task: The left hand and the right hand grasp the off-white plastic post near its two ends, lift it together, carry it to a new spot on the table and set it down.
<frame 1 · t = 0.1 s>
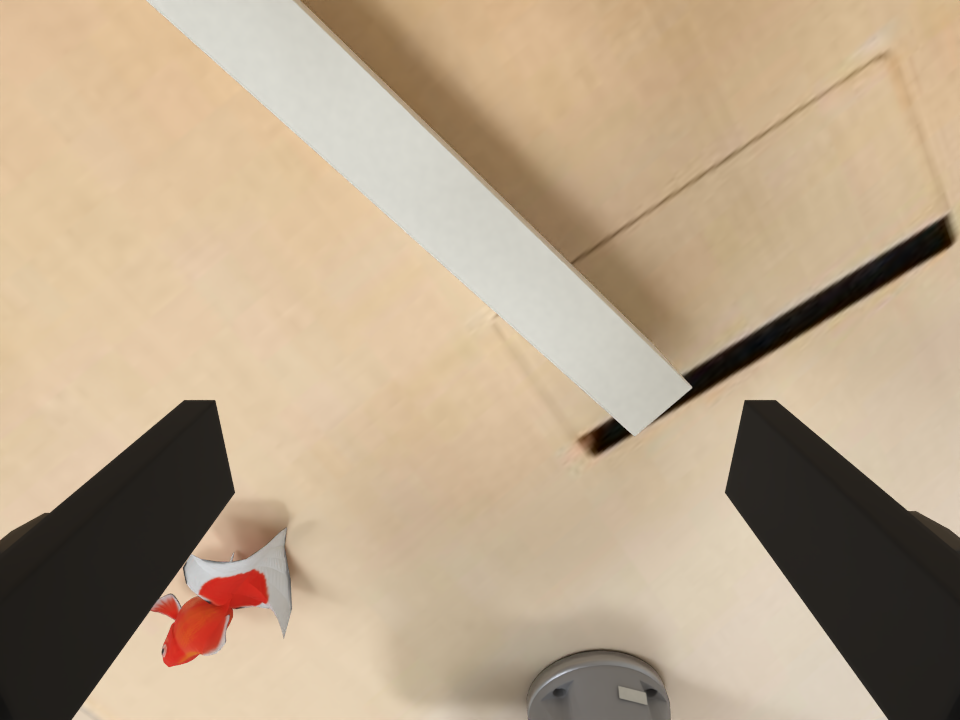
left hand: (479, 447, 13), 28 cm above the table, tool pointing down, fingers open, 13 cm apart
post: (341, 93, 35), on the table
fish: (243, 561, 50), on the table
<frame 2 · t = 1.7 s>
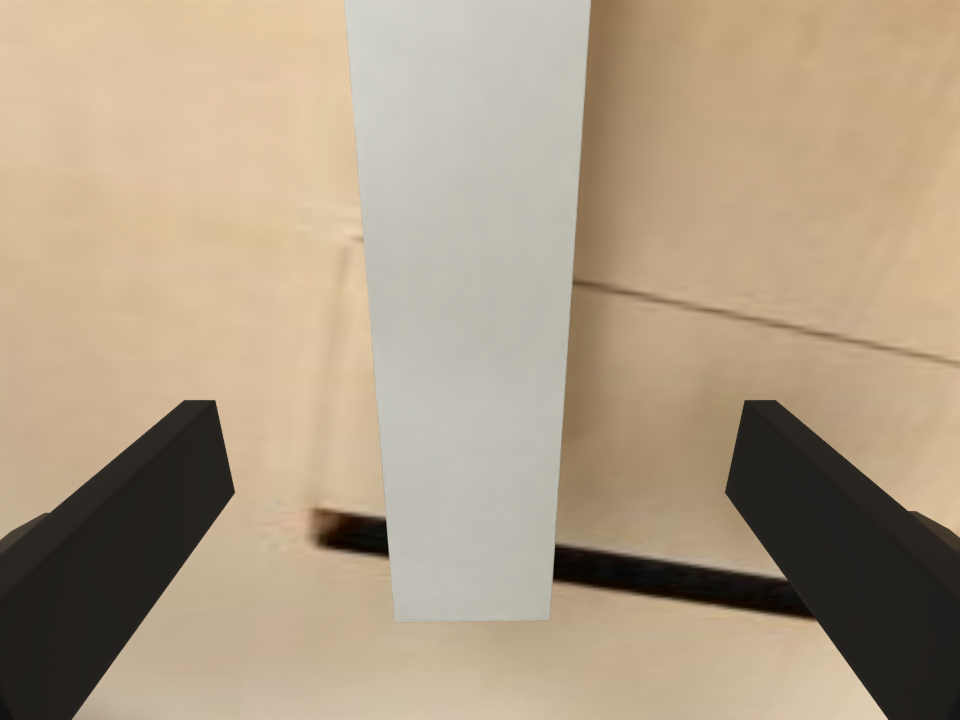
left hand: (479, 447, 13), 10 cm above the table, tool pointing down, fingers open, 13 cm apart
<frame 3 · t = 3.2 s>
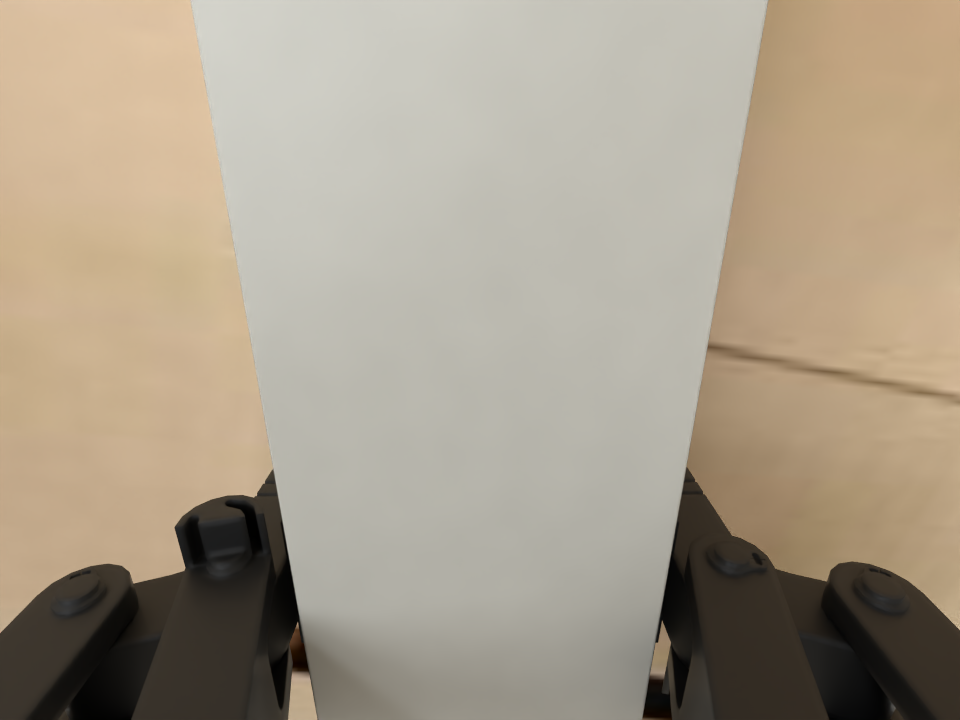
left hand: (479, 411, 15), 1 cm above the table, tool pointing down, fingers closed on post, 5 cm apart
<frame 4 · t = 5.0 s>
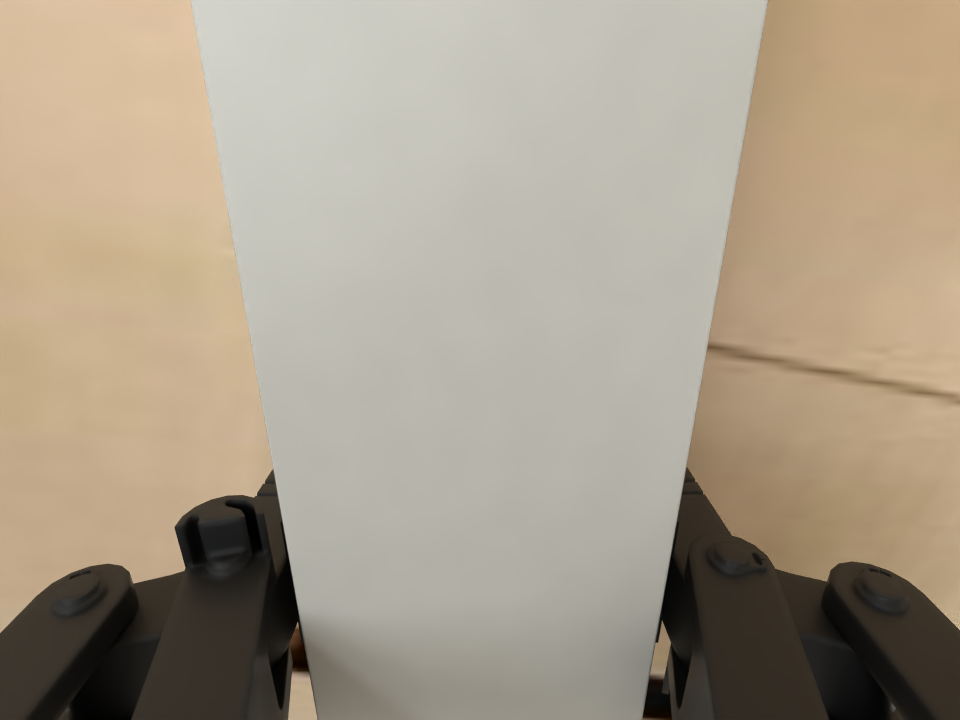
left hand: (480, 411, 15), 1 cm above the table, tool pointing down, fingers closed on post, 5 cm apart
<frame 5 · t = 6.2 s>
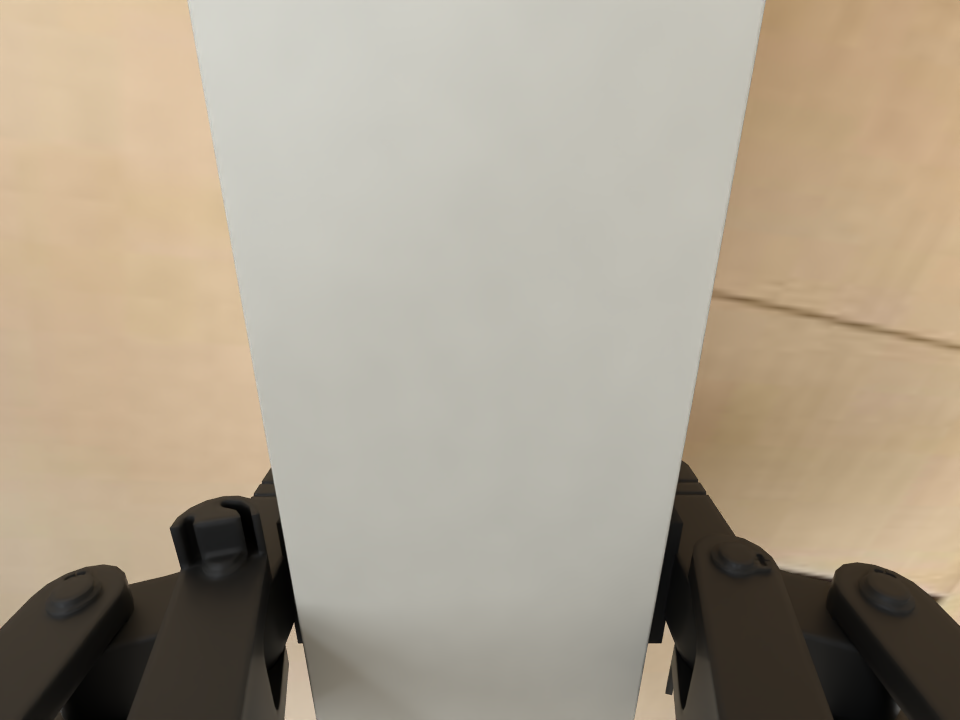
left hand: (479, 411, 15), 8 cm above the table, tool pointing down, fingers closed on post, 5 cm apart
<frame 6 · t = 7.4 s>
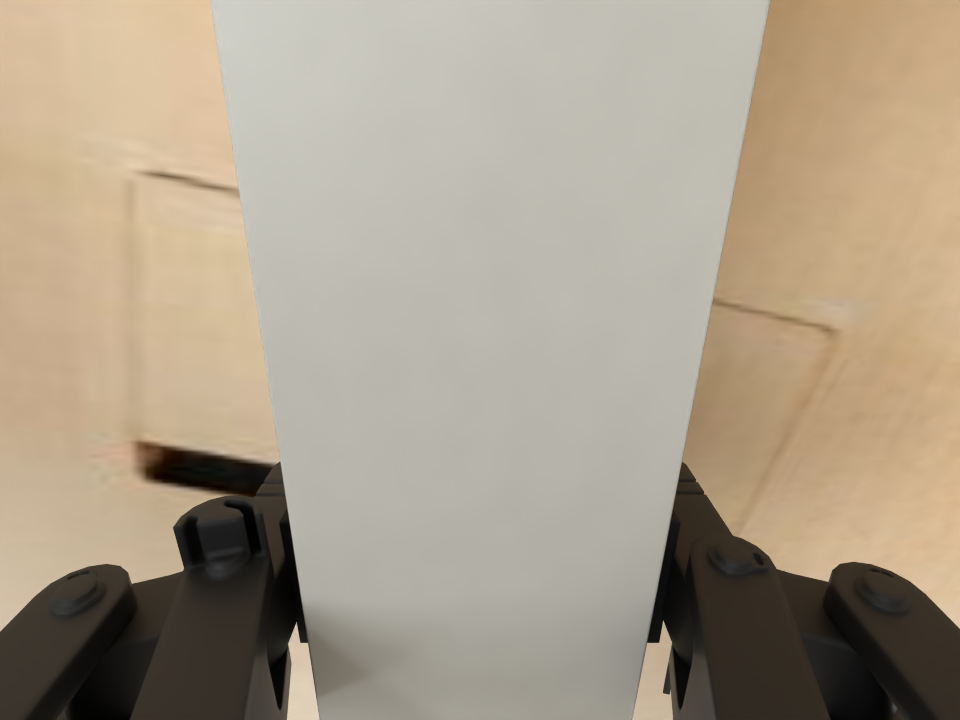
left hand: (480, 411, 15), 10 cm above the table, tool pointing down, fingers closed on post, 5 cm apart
when the left hand's fingers open (2 cm above the table, at t = 9.6 s): post drops 1 cm, on the table.
when the right hand's fingers open (5 cm above the table, at t = 9.8 s): post stays where it is, on the table.
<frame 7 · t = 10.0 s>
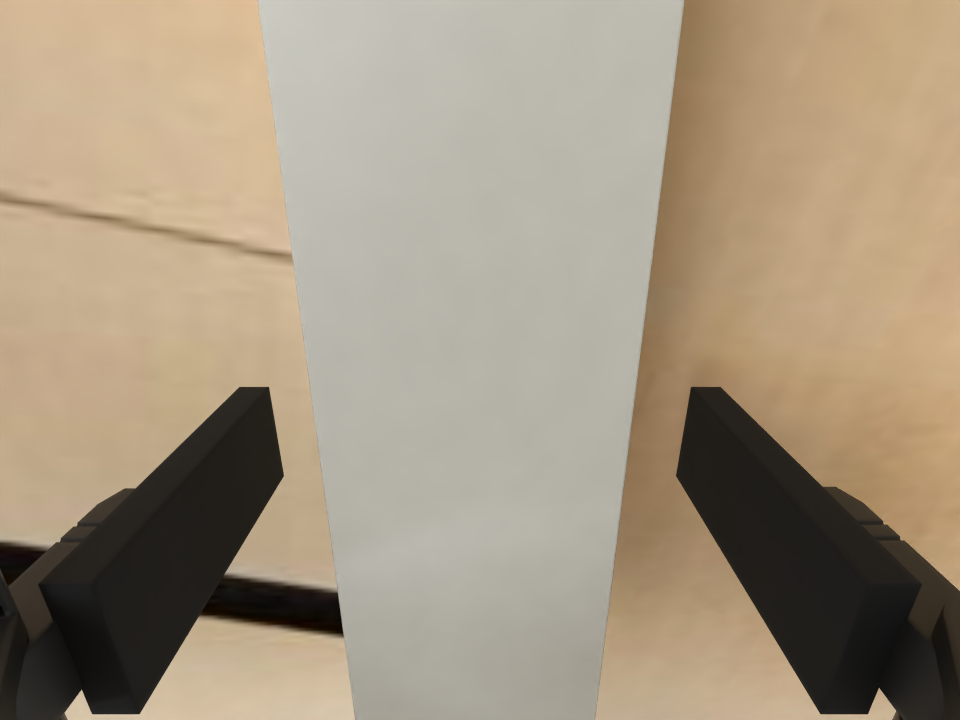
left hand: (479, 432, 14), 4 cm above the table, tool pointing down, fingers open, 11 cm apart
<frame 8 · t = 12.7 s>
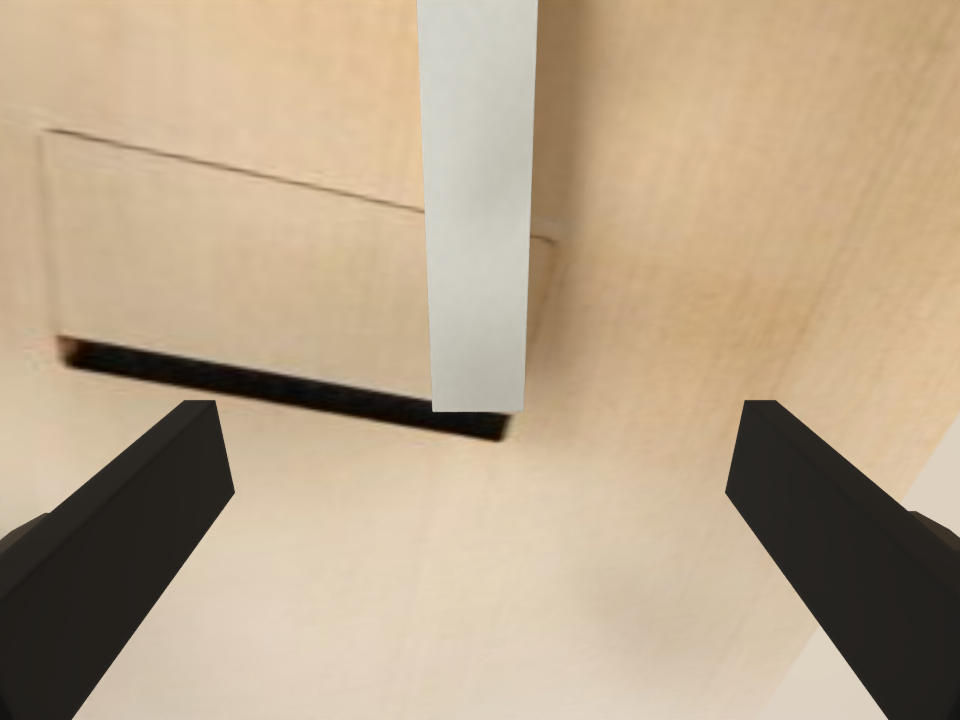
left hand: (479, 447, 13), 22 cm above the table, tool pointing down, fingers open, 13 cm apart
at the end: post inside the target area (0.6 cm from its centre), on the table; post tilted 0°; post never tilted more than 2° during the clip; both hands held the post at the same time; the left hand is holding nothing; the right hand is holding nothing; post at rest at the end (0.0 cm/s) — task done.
